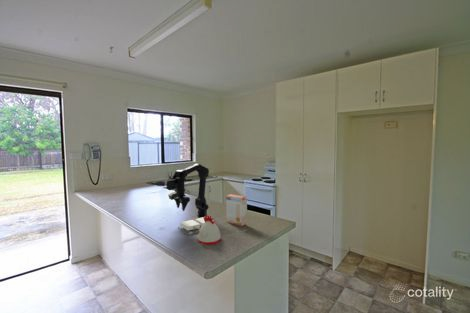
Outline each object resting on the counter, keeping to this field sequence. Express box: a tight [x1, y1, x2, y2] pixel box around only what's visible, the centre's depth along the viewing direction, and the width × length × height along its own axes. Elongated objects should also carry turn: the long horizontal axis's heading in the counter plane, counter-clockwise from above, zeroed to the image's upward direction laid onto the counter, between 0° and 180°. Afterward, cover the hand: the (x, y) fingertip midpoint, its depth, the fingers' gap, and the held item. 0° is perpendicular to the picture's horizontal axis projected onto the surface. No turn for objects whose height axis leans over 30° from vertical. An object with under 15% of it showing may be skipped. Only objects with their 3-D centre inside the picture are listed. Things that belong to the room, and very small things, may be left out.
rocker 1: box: [180, 219, 200, 230], centre depth 148 cm, size 9×12×2 cm
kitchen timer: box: [197, 215, 222, 246], centre depth 133 cm, size 14×14×15 cm
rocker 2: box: [194, 217, 215, 226], centre depth 155 cm, size 9×12×2 cm
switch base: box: [177, 225, 201, 236], centre depth 151 cm, size 22×16×1 cm
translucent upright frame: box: [225, 193, 247, 227], centre depth 160 cm, size 14×6×21 cm, turn 52°
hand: (180, 209), depth 156 cm, fingers open, 9 cm apart
